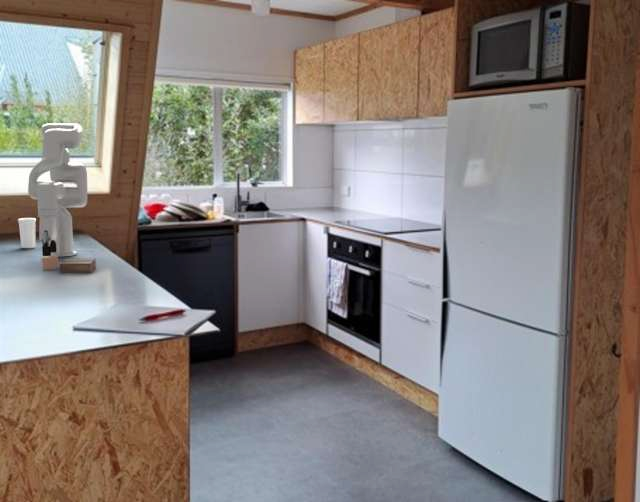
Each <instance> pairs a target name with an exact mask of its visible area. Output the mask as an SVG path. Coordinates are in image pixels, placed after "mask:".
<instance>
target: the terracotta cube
mask: <svg viewBox="0 0 640 502" xmlns="http://www.w3.org/2000/svg"><path fill="white" fill-rule="evenodd" d="M41 259H42V270H43V271H44V270H45V271H48V270H47V269H56V268H57V267H58V268H59V257H58V256H43V257H42V258H41ZM58 268H57V269H58ZM57 269H56V270H57Z"/></svg>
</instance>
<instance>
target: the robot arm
mask: <svg viewBox="0 0 640 502" xmlns="http://www.w3.org/2000/svg"><path fill="white" fill-rule="evenodd" d="M41 134H42V150H41V151H42V153H41V159H40V160H39V161H38V162H37V163H36V164H35V165H34V166H33V168H32V169H31V170H30V172H29V176H28V183H27V184H28V187H27V192H28V193H27V194H28V196H29V197H30V198H31V199H32V200H37V217H38V218H39V225H38V226H39V230H38V231H39V232H38V234H39V241H40V242H41V245H42V247H41V251H42V253H41V254H42V256H43V257H44V256H58V258H61V257H62V258H63V257H64V258H65V257H72V256H76V255H77V254H78V252H77V250H74V237H73V235H74V234H73V217H72V215H71V213H70V211H68V210H67V209H68V208H84V207H87V204H88V171H87V168H86V166H85V164H83V163H78V162H75V163H74V162H71V160H70V159H71V158H70V151H69V150H71V149H73V150H75V149H77V148H78V147H80V144H81V142H82V140H83V136H84V132H83V128H82V126H81V125H80V124H79V123H64V122H63V123H59V122H58V123H57V122H56V123H55V122H53V123H52V122H51V123H45V124H43V125H42V126H41ZM47 172H49V177H50V181H38V179H39V178H40V176H42V175H43V174H45V173H47ZM65 184H66V185H68V184H69V185H76V186H65Z"/></svg>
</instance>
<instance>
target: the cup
mask: <svg viewBox="0 0 640 502" xmlns="http://www.w3.org/2000/svg"><path fill="white" fill-rule="evenodd" d="M17 222H18V226H19V236H20V245H21V248H22V249H34V248H36V222H37V219H36V218H35V217H22V218H18V219H17Z"/></svg>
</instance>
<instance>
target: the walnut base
mask: <svg viewBox="0 0 640 502" xmlns="http://www.w3.org/2000/svg"><path fill="white" fill-rule="evenodd" d="M96 261H97V260H96V258H95V257H91V258H88V257H87V258H85V257H83V258H82V257H81V258H79V257H77V258H73V257H72V258H71V257H70V258H67V257H66V258H65V259H63V260H62V261H61V262H60V263H58V266H59V274H60V273H74V274H92V273H93V271H94V270H96V268H97V262H96Z"/></svg>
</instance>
